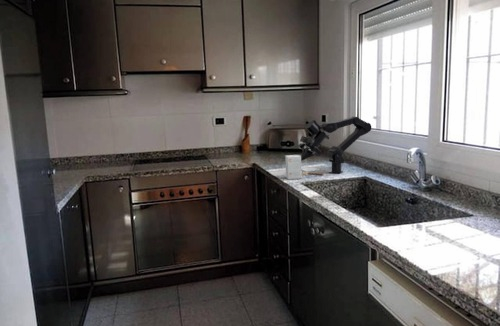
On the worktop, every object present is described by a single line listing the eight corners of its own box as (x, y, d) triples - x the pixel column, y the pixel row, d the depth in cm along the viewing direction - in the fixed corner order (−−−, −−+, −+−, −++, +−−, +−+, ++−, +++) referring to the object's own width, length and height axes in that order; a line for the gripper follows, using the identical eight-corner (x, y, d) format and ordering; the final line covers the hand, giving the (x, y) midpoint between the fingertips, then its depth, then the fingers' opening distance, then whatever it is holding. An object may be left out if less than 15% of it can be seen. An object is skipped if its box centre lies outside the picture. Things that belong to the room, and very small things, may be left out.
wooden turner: (299, 172, 230) (299, 170, 230) (324, 174, 221) (324, 172, 221) (295, 174, 225) (295, 172, 225) (320, 176, 216) (320, 174, 216)
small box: (299, 176, 219) (298, 154, 217) (301, 178, 213) (301, 156, 211) (285, 177, 219) (285, 155, 216) (287, 179, 212) (287, 157, 210)
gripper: (301, 129, 223) (284, 149, 221) (316, 132, 206) (298, 153, 204) (312, 141, 227) (296, 161, 225) (328, 145, 209) (311, 166, 208)
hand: (300, 160), depth 216 cm, fingers closed
